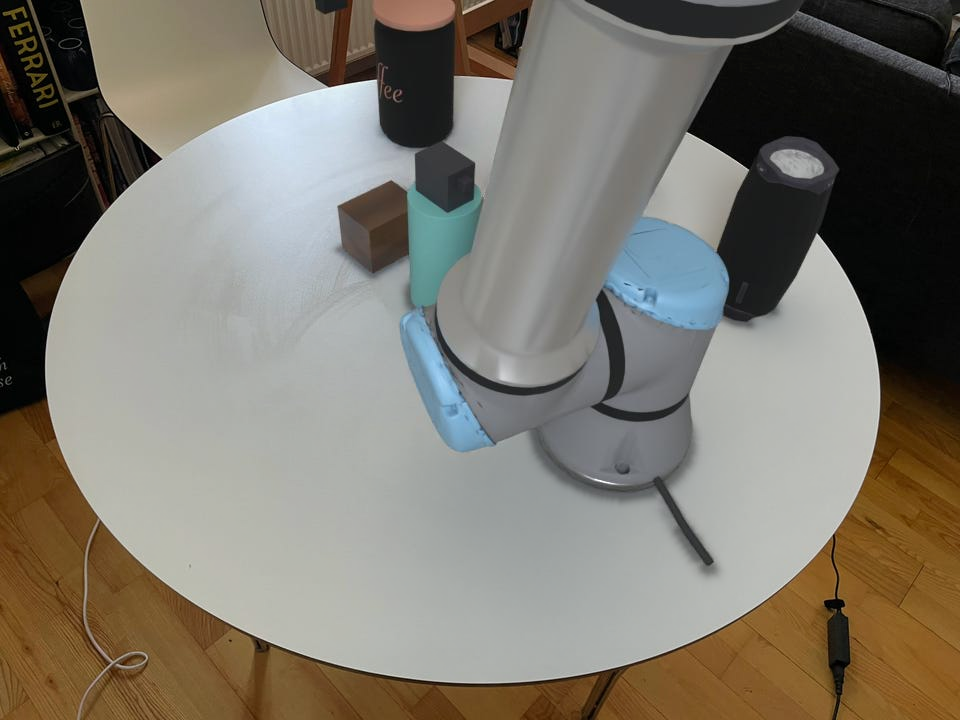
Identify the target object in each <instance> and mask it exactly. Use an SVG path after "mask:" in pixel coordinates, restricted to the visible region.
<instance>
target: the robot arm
mask: <svg viewBox="0 0 960 720" xmlns="http://www.w3.org/2000/svg"><path fill="white" fill-rule="evenodd" d="M348 1H349V0H314V5H315V10H317V11H318V12H320V13H321V14H323V15H328V14H332V13H334V12H338V11H341V10H344V9H346V8H349V3H348ZM804 2H805V0H532V4H531V7H530V12H529V16H528V19H527V24H526V28H525V31H524V36H523V41H522V44H521V47H520V53H519V56H518V59H517V64H516V68H515V72H514V77H513V81H512V85H511V89H510V92H509V97H508V101H507V105H506V109H505V113H504V116H503V120H502V125H501V128H500V133H499V137H498V141H497V144H496V149H495V153H494V158H493V161H492V165H491V170H490V174H489V178H488V181H487V186H486V189H485V194H484V198H483V199H484V201H483V205H482V209H481V213H480V218H479V222H478V226H477V230H476V234H475V238H474V242H473V246H472V250H471V252H470V253H468V254H467V255H465V256H463V257H462V258H461V259H460V260H458V261H457V262H456V263H455V264H454V265H453V266H452V268H451V269H450V270H449V271H448V273H447V274H446V275H445V277H444V279H443V281H442V283H441V286H440V289H439V293H438V296H437V301H436V303H435V304H433V305H430V306H427V307H425V306H424V305H421V306H417V307H415V308H414V309H413V310H410V311H408V312H406V313H405V314H403V315H402V317H401V318H400V320H399V326H398V327H399V335H400V341H401V345H402V349H403V352H404V356H405V359H406V361H407V364H408V367H409V371H410V373H411V377H412V379H413V381H414V384H415V387H416V388H417V389H416V390H417V391H418V394H419V396H420V399H421V401H422V403H423V406H424V408H425V411H426V413H427V414H428V417H429V419H430V420H431V422H432V425H433V427H434V428H435V430H436V432H437V434H438V435H439V437H440V438H441V440H442V441H443V442H444V444H445V445H446V446H447V447H448V448H450V449H451V450H452V451H454V452H456V453H457V452H458V453H468V452H473V451H476V450H480V449H483V448H488V447H489V448H493V447H495V446H497V444H498V443H499V442H502V441H504V440H507V439H509V438H513V437H515V436H517V435H519V434H522V433H525V432H527V431H530V430H533V429H535V428H536V433H537V437H538V440H539V442H540V444H541V447H542V448H543V450H544V451H545V454H546V455H547V456H548V457H549V459H550V460H551V461H552V462H553V463H554V465H556V466H557V467H558V468H559V470H561V471H562V472H564V473H565V474H566V475H567V476H570V477H571V478H573V479H574V480H576V481H578V482H580V483H581V484H584V485H587V486H588V487H589V486H590V487H592V488H594V489H599V490H603V491H609V492H616V493H617V492H618V493H629V492H630V493H631V492H638V491H643V490H648V489H650V488H653V487H656V489H657V490H658V492H659V494H660V495H661V497H662V499H663V500H664V502H665V504H666V506H667V508H668V509H669V511H670V512H671V514H672V517H673V518H674V520H675V521H676V523H677V525H678V526H679V528H680V529H681V532H682V533H683V535H684V536H685V537H686V539H687V540H688V541H689V543H690V545H691V546H692V547H693V549H694V550H695V552H696V553H697V554H698V556H699V557H700V558H701V560H702V562H703V563H704V564H705V566H707V567H708V566H711V565H712V564H714V562H715V561H714V559H713V557H712V556H711V555H710V553H709V552H708V551H707V550H706V548H705V547H704V545H703V544H702V543H701V541H700V540H699V538H698V537H697V536H696V533H694V531H693V530H692V528H691V527H690V525H689V523H688V522H687V520H686V519H685V517H684V516H683V514H682V512H681V510H680V508H679V506H678V505H677V503H676V502H675V500H674V497H672V495H671V493H670V491H669V490H668V488H667V486H666V485H665V483H664V482H665V481H666V480H668V479H669V478H671V477H672V476H673V475H674V474H675V473H676V472H677V471H678V470H679V468H680V467H681V465H682V464H683V463H684V460H685V458H686V457H687V453H688V451H689V448H690V445H691V442H692V436H693V419H692V409H691V397H690V393H691V390H692V388H693V386H694V383H695V382H696V381H695V380H696V378H697V376H698V374H699V371H700V368H701V366H702V363H703V362H704V358H705V356H706V353H707V352H708V348H709V346H710V344H711V342H712V339H713V336H714V334H715V331H716V329H717V327H718V326H719V324H720V323H721V322H722V320H723V316H724V315H723V307H724V304H725V301H726V297H727V294H728V290H729V277H728V272H727V269H726V267H725V265H724V263H723V261H722V259H721V258H720V256H719V255H718V254H717V253H716V251H717V250H715V249H714V248H713V247H712V246H711V245H710V244H709V243H708V242H707V241H705V239H703V238H702V237H701V236H699V235H697V234H695V233H694V232H692V231H690V230H689V229H687V228H685V227H683V226H680V225H678V224H675V223H672V222H669V221H666V220H665V219H660V218H657V217H651V216H644V215H643V213H644V211H645V210H646V208H647V206H648V204H649V202H650V201H651V199H652V198H653V195H654V194H655V191H656V189H657V188H658V185H659V184H660V182H661V180H662V178H663V177H664V174H665V172H666V171H667V169H668V168H669V165H670V164H671V161H672V160H673V158H674V157H675V155H676V153H677V151H678V149H679V147H680V145H681V143H682V141H683V140H684V138H685V136H686V134H687V132H688V130H689V129H690V127H691V125H692V123H693V121H694V119H695V118H696V116H697V114H698V112H699V110H700V108H701V107H702V105H703V102H704V101H705V99H706V97H707V96H708V94H709V91H710V90H711V89H712V86H713V84H714V83H715V81H716V79H717V77H718V75H719V74H720V71H721V70H722V68H723V66H724V64H725V62H726V61H727V59H728V57H729V55H730V53H731V51H732V49H733V47H734V46H735V45H742V44H746V43H749V42H753V41H757V40H760V39H763V38H765V37H767V36H770V35H772V34H774V33H775V32H777V31H778V30H779V29H781V28H783V27H784V26H785V25H786V24H787V23H789V21H791V19H793V18H794V17H795V16H796V14H797V13H798V11H799V10H800V8H801V7H802V5H803V4H804ZM642 215H643V216H642Z"/></svg>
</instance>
